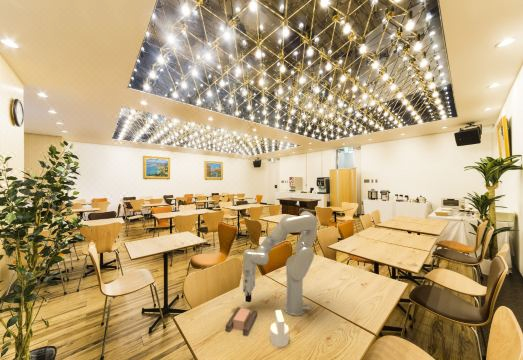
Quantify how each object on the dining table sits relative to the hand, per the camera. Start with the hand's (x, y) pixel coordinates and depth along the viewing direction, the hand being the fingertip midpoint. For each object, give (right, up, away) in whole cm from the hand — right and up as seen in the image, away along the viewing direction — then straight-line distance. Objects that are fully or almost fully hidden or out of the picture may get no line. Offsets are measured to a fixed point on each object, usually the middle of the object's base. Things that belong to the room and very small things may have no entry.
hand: (248, 301), depth 127 cm
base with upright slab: (+17, -6, -23) cm, 29 cm away
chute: (-3, -6, -11) cm, 13 cm away
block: (-3, -6, -11) cm, 13 cm away
